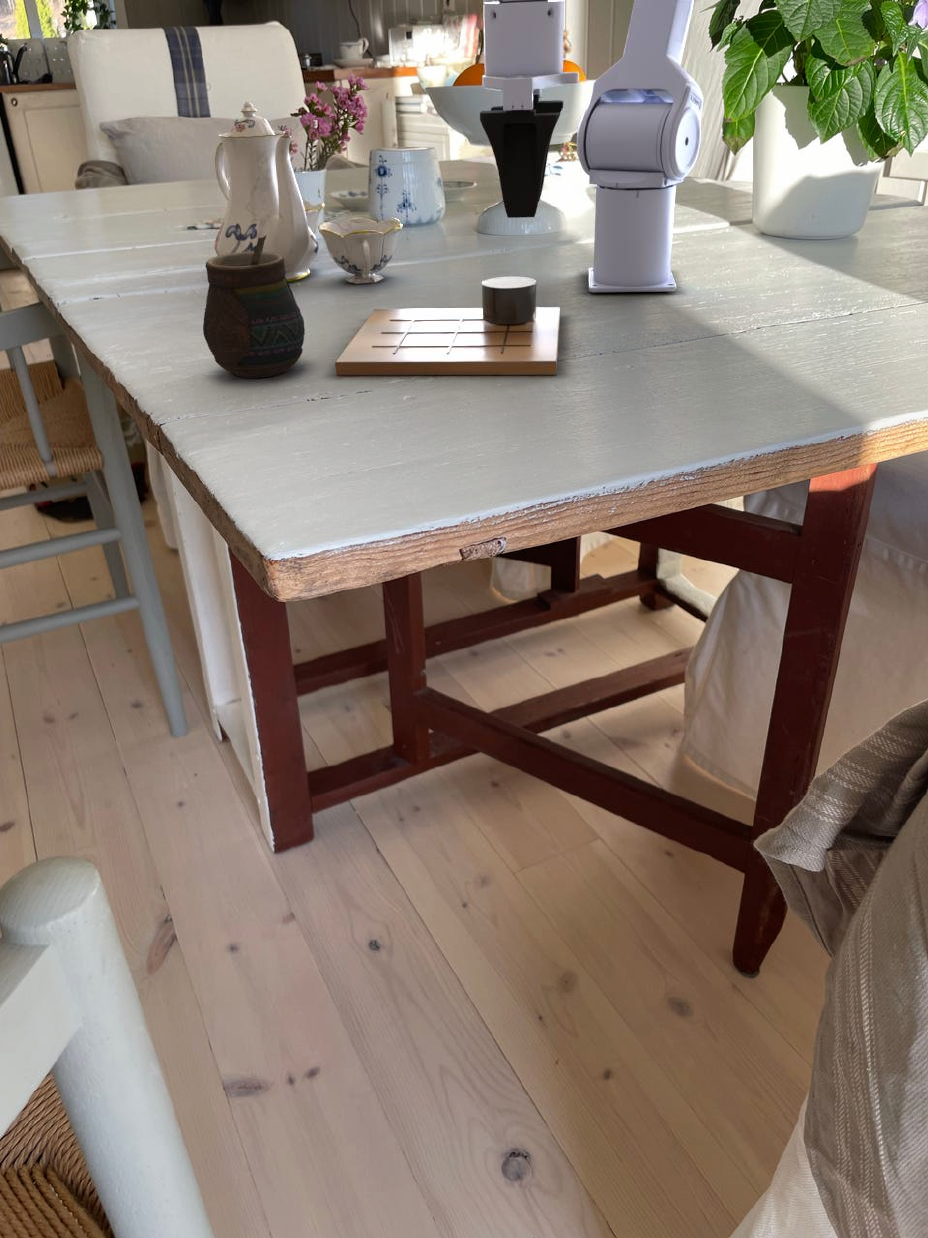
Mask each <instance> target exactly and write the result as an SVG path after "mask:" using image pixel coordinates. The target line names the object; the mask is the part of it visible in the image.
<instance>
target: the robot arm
mask: <svg viewBox="0 0 928 1238" xmlns="http://www.w3.org/2000/svg"><path fill="white" fill-rule="evenodd" d="M482 2H483V3H482V4H483V43H484V44H483V46H484V47H483V49H484V75H482V79H481V80H482V84H481V85H482V88H483V89H485V90H494V91H500V92H502V105H494V106H491V108H490V110H481V111H480V112H479V121H480V123H481V126H482V129H483V130H484V132H485V135H486V137H487V140H488V142H489V144H490V147H491V149H492V153H493V156H494V160H495V164H496V168H497V174H498V179H499V186H500V191H501V197H502V201H503V206H504V211H505V214H506V216H507V218H509V219H514V218H515V219H517V218H518V219H519V218H535V217H536V213H537V210H538V206H539V202H540V200H541V197H542V192H543V189H544V183H545V176H546V169H547V163H548V156H549V150H550V146H551V141H552V138H553V133H554V130H555V129H556V125H557V123H558V121H559V119H560V117H561V112H562V110H563V108H564V100H561V99H560V100H558V99H556V100H540V99H541V98H542V90H545V89H549V88H557V87H563V86H565V85H567V84H578V83H579V79H580V73H579V71H566V72H565V71H564V24H565V23H564V22H565V21H564V20H565V19H564V18H565V1H564V0H482ZM694 4H695V0H633V5H632V11H631V15H630V19H629V20H630V21H629V26H628V30H627V34H626V35H627V36H626V40H625V45H624V50H623V55H622V57H621V58H620V59H619V60H618V61H617V62H615V63H614V64H613V65H612V66H611V67H609V68H608V69H607V70H606V71H605V72H603V73H602V74H601V75H599V76H598V78H596V79H595V81H594V82H593V85H592V91H591V95H590V99H589V101H588V104H587V107H586V109H585V111H584V113H583V115H582V116H581V119H580V121H579V123H578V128H577V135H576V152H577V157H578V161H579V163H580V166H581V167H582V170H583V171H584V173H585V174H586V175H587V176H589V178H588V184H589V185H596V186H595V210H594V211H595V212H594V237H593V238H594V239H593V240H594V241H593V242H594V243H593V266H592V267H588V269H587V270H588V272H587V273H588V274H587V275H588V291H589V292H590V293H655V292H656V293H661V292H676V291H677V284H676V281H675V279H674V276H673V273H672V270H671V260H672V245H673V232H674V219H675V217H674V216H675V206H676V205H675V203H676V190H677V184H680V183H683V182H684V179H685V178H687V176H688V174H689V173H690V172H691V171H692V169H693V167H694V166H695V164H696V161H697V159H698V156H699V152H700V147H701V143H702V142H701V141H702V115H703V107H704V99H705V98H704V95H703V92H702V90H701V87H700V86H699V85H698V83H697V82H696V81H695V79H694V78H693V77H692V76H691V75H690V74H689V73H688V72H687V71H686V69H685V68H684V67H682V66H681V64H682V60H683V55H684V51H685V46H686V43H687V42H686V41H687V36H688V33H689V27H690V22H691V19H692V13H693V8H694Z"/></svg>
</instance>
